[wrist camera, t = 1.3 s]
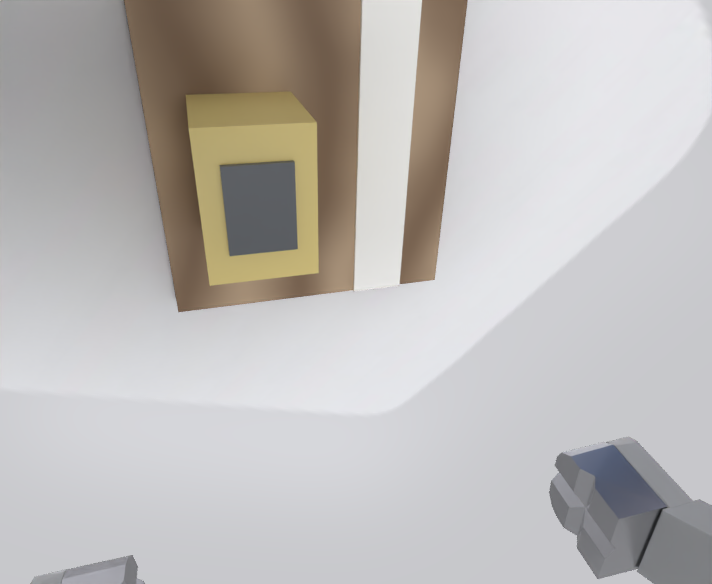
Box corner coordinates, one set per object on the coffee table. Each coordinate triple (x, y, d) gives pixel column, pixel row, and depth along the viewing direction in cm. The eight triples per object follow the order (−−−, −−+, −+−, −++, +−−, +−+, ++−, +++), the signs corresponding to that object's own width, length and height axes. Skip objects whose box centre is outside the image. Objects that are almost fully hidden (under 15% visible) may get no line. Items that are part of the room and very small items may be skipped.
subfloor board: (178, 298, 33) (178, 313, 31) (121, -31, 24) (118, -30, 22) (425, 268, 37) (435, 281, 35) (456, -23, 28) (471, -22, 26)
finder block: (203, 229, 29) (210, 288, 24) (185, 94, 26) (188, 130, 20) (295, 221, 30) (319, 275, 25) (290, 91, 27) (318, 123, 22)
